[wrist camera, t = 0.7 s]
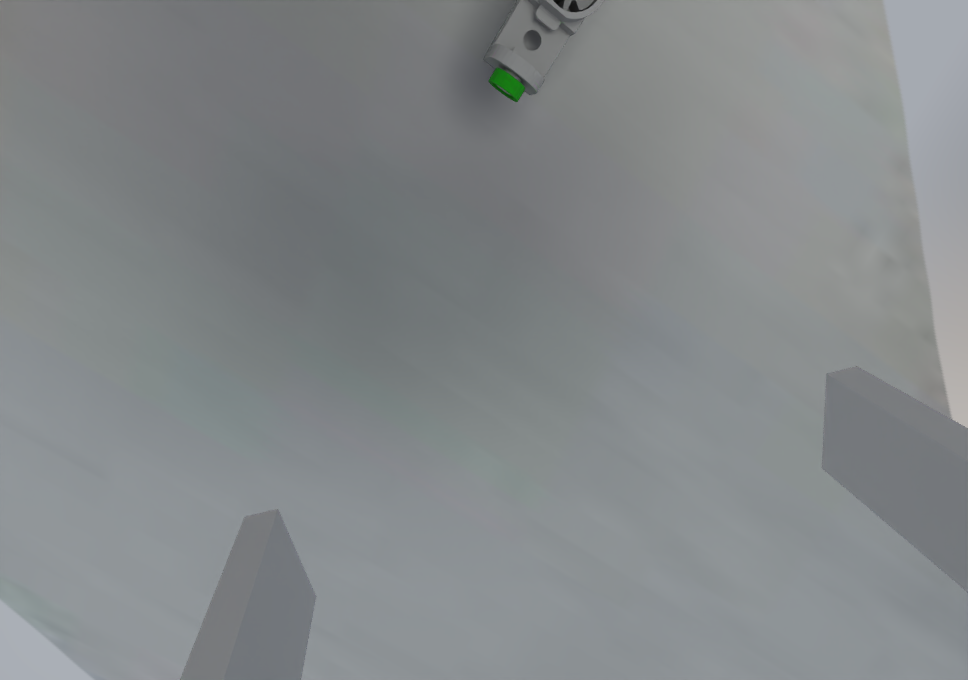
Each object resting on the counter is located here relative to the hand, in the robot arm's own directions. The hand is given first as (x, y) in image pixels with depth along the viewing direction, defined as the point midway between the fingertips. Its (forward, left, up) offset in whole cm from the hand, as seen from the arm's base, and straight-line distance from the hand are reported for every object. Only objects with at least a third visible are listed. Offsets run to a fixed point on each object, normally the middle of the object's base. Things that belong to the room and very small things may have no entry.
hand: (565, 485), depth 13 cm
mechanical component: (-13, +6, -26) cm, 29 cm away
